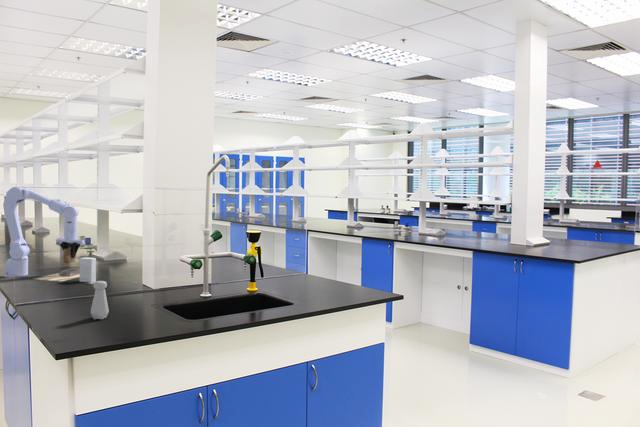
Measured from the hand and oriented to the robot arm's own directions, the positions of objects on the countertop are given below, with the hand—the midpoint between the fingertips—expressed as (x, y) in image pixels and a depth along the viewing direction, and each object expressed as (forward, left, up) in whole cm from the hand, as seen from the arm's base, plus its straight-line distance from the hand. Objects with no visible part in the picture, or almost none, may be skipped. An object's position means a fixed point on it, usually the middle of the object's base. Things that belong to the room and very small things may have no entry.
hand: (70, 257), depth 250 cm
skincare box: (+18, -11, -10) cm, 23 cm away
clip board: (0, -5, -10) cm, 11 cm away
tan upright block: (0, -1, -2) cm, 2 cm away
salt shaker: (+62, -65, -10) cm, 90 cm away
